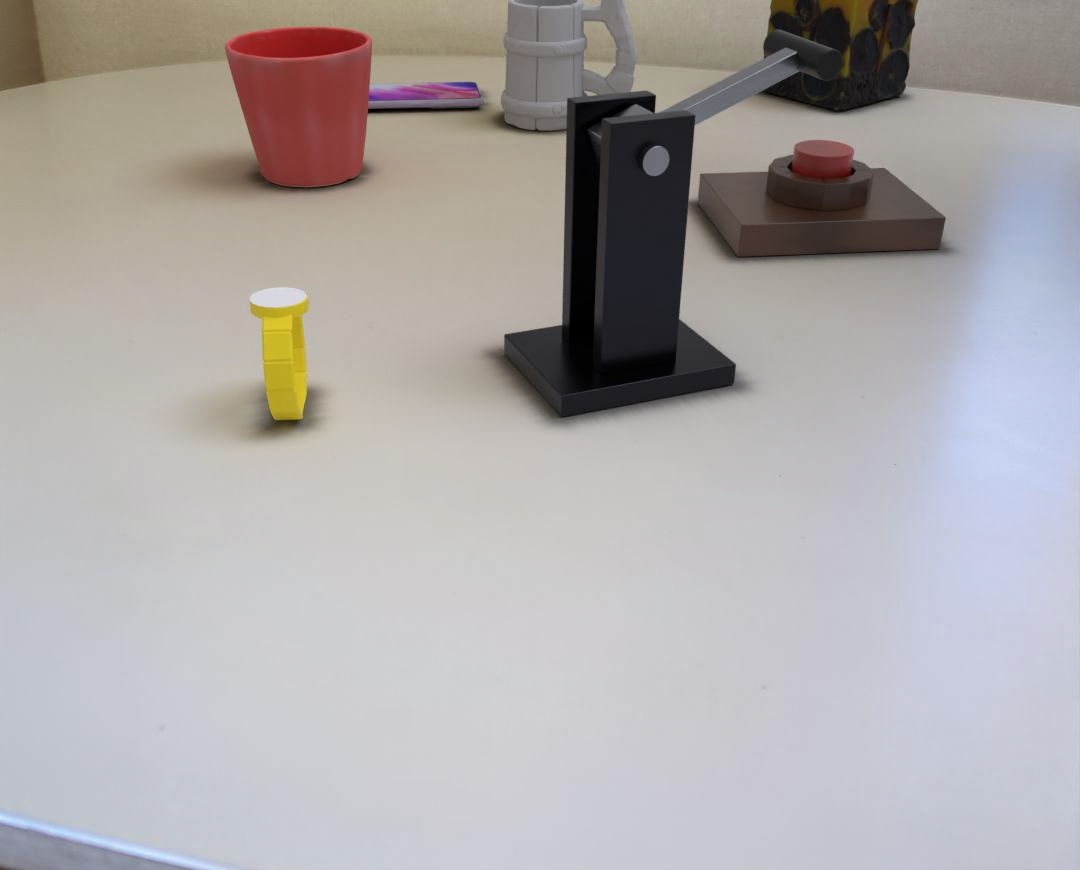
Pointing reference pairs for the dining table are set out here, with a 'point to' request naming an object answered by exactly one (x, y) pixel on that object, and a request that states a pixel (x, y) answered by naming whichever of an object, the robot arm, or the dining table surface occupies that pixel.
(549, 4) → the mug
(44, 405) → the dining table surface
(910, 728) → the dining table surface
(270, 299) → the watch
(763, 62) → the switch lever
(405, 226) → the dining table surface
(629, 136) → the switch bracket
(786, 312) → the dining table surface
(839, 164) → the button
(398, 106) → the smartphone
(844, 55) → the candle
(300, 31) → the flower pot
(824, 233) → the switch block
